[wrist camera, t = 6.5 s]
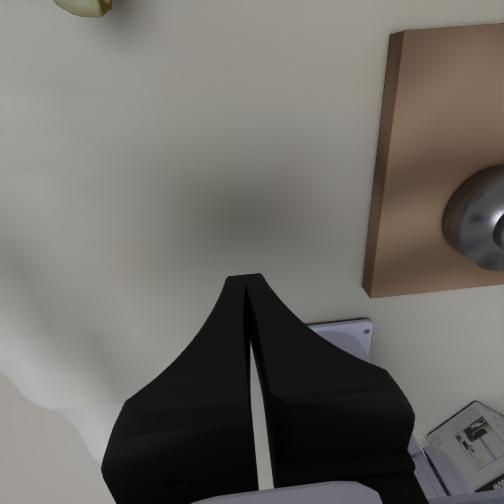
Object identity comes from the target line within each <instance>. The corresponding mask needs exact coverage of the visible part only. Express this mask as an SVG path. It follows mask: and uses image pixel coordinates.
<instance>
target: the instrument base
mask: <svg viewBox="0 0 504 504" xmlns="http://www.w3.org/2000/svg"><path fill="white" fill-rule="evenodd" d="M499 165H504V23H499V24H485V25H472V26H458V27H445V28H431V29H418V30H404V31H401V32H398V33H394V34H391V35H390V41H389V50H388V59H387V68H386V77H385V86H384V95H383V104H382V113H381V122H380V131H379V140H378V149H377V158H376V167H375V176H374V185H373V194H372V203H371V212H370V221H369V230H368V239H367V248H366V257H365V266H364V275H363V284H362V287H363V289H364V290H365V292H366V293H367V295H368V296H369V297H370V299H371V298H380V297H390V296H399V295H408V294H417V293H427V292H436V291H445V290H454V289H464V288H473V287H482V286H491V285H501V284H504V271H490V270H486V269H483V268H481V267H479V266H478V265H476V264H475V263H474V262H472V261H471V260H469V259H468V258H466V257H465V256H464V255H462V254H461V253H459V252H458V251H457V250H455V249H454V248H453V247H451V246H450V244H449V243H448V242H447V240H446V238H445V234H444V228H443V225H444V217H445V214H446V211H447V208H448V206H449V204H450V202H451V200H452V199H453V197H454V196H455V194H456V193H457V192H458V191H459V190H460V188H461V187H462V186H463V185H464V184H465V183H466V182H468V181H469V180H470V179H471V178H473V177H474V176H476V175H477V174H479V173H481V172H483V171H485V170H487V169H489V168H492V167H495V166H499Z"/></svg>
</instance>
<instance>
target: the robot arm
mask: <svg viewBox="0 0 504 504" xmlns="http://www.w3.org/2000/svg"><path fill="white" fill-rule="evenodd" d="M366 329H367V330H366ZM364 330H366V331H364ZM372 330H373V323H372V322H371V320H369V319H363V320H354V321H345V322H336V323H327V324H318V325H309V326H307V325H306V324H304V323H303V322H302V321H301V320H300V319H299V318H298V317H297V316H295V315H294V314H293V313H292V312H291V311H290V310H289V309H288V308H287V306H286V305H285V304H284V303H283V302H282V301H281V300H280V299H279V297H278V296H277V295H276V294H275V293H274V291H273V290H272V289H271V287H270V286H269V285H268V283H267V282H266V280H265V278H264V277H263V275H262V274H260V273H256V274H246V275H237V276H228V277H227V278H226V280H225V284H224V287H223V289H222V292H221V294H220V296H219V298H218V300H217V302H216V304H215V306H214V308H213V310H212V312H211V313H210V315H209V317H208V318H207V320H206V322H205V323H204V325H203V326H202V328H201V329H200V331H199V332H198V334H197V335H196V336H195V337H194V339H193V340H192V341H191V343H190V344H189V345H188V346H187V347H186V348H185V350H184V351H183V352H182V353H181V354H180V355H179V356H178V357H177V358H176V360H175V361H174V362H173V363H172V364H170V365H169V366H168V367H167V368H166V369H165V370H164V371H163V372H162V373H161V374H160V375H159V376H158V377H156V378H155V379H154V380H153V381H152V382H150V383H149V384H148V385H146V386H145V387H144V388H142V389H141V390H140V391H139V392H137V393H136V394H135V395H133V396H132V397H131V398H129V399H128V400H126V401H125V403H124V405H123V407H122V410H121V412H120V414H119V416H118V418H117V420H116V423H115V425H114V427H113V430H112V433H111V435H110V438H109V442H108V445H107V448H106V451H105V455H104V458H103V462H102V466H101V472H102V475H103V479H104V481H105V483H106V484H107V486H108V488H109V490H110V492H111V494H112V496H113V498H114V500H115V502H116V504H504V489H498V490H491V491H483V492H476V493H475V492H474V491H473V489H472V487H471V486H470V484H469V483H468V481H467V479H466V478H465V476H464V475H463V473H462V472H461V470H460V469H459V467H458V466H457V464H456V463H455V462H454V460H453V459H452V458H451V457H450V455H449V454H447V453H446V452H444V451H441V450H439V449H437V448H436V447H435V446H433V445H428V446H426V447H423V450H424V453H425V455H426V458H427V459H426V458H425V456H424V455H423V453H422V451H421V449H420V447H419V445H418V443H417V441H416V440H415V438H414V436H413V434H412V431H413V428H414V422H415V414H414V412H413V409H412V407H411V405H410V403H409V401H408V400H407V398H406V396H405V395H404V393H403V392H402V390H401V389H400V388H399V386H398V385H397V383H396V382H395V381H394V379H393V378H392V377H391V376H390V374H389V373H388V372H387V371H386V370H384V369H382V368H380V367H378V366H375V365H373V364H372V363H371V362H370V360H369V352H370V345H371V337H372ZM250 340H251V345H252V350H253V354H254V359H255V363H256V368H257V372H258V377H259V381H260V386H261V391H262V396H263V402H264V410H265V418H266V426H267V435H268V443H269V451H270V460H271V468H272V476H273V485H274V489H268V490H260V491H259V486H258V475H257V464H256V453H255V443H254V432H253V421H252V410H251V394H250ZM427 460H428V461H427ZM428 462H429V463H428Z"/></svg>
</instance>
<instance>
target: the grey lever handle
mask: <svg viewBox="0 0 504 504" xmlns="http://www.w3.org/2000/svg"><path fill="white" fill-rule="evenodd" d="M443 228H444V234H445V238H446V240H447V242H448V243H449V244H450V246H451V247H453V248H454V249H455V250H457V251H458V252H459V253H461V254H462V255H464V256H465V257H466V258H468V259H469V260H471V261H472V262H474V263H475V264H476V265H478V266H479V267H481V268H483V269H486V270H490V271H504V165H499V166H495V167H492V168H489V169H487V170H485V171H483V172H481V173H479V174H477V175H476V176H474V177H473V178H471V179H470V180H469V181H468V182H466V183H465V184H464V185H463V186H462V187H461V188H460V190H459V191H458V192H457V193H456V194H455V196H454V197H453V199H452V200H451V202H450V204H449V206H448V208H447V211H446V214H445V217H444V225H443Z"/></svg>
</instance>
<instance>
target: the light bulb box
mask: <svg viewBox="0 0 504 504" xmlns="http://www.w3.org/2000/svg"><path fill="white" fill-rule="evenodd" d="M428 438H429V440H430V441H431V443H432V445H433V446H435V447H436V448H437V449H439V450H441V451H444V452H446V453H447V454H449V455H450V457H451V458H452V459H453V460H454V462H455V463H456V464H457V466H458V467H459V469H460V470H461V472H462V473H463V475H464V476H465V478H466V479H467V481H468V483H469V484H470V486H471V487H472V489H473V491H474V492H475V493H476V492H483V491H491V490H498V489H504V417H503V416H502V415H500V414H498V413H496V412H495V411H493V410H491V409H489V408H487V407H486V406H484V405H482V404H480V403H479V402H474V403H473V404H471V405H470V406H468V407H467V408H466V409H464V410H463V411H461V412H460V413H459V414H457V415H456V416H455V417H453V418H452V419H450V420H449V421H448V422H446V423H445V424H443V425H442V426H441V427H439V428H438V429H436V430H435V431H434V432H432V433H431V434H429V435H428Z"/></svg>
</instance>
